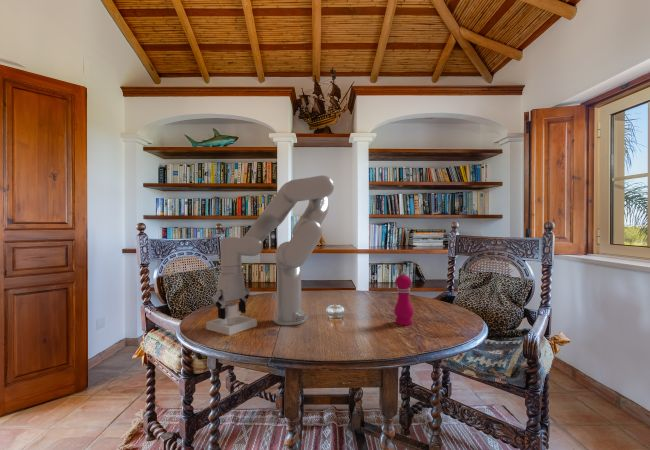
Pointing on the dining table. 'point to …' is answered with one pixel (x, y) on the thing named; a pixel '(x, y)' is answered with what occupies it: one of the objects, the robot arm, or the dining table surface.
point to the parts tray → (222, 326)
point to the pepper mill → (403, 300)
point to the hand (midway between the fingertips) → (232, 315)
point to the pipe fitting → (231, 313)
